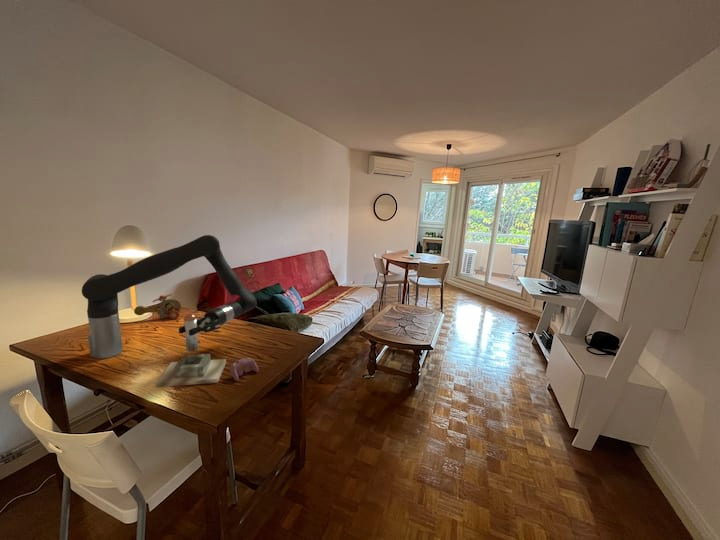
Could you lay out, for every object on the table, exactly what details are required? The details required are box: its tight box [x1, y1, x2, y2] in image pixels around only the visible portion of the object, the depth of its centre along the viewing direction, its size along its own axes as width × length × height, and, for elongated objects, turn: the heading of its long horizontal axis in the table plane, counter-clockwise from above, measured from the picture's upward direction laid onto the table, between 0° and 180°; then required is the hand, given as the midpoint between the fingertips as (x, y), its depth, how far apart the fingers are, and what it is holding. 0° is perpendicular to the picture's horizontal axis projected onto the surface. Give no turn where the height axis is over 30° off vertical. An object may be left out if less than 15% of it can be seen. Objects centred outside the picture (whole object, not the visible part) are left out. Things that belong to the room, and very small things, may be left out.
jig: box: [154, 353, 227, 388], centre depth 108 cm, size 20×14×6 cm
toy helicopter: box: [133, 293, 182, 320], centre depth 154 cm, size 8×21×14 cm, turn 122°
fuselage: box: [183, 313, 200, 352], centre depth 106 cm, size 4×4×14 cm
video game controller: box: [229, 357, 259, 382], centre depth 110 cm, size 10×5×7 cm, turn 141°
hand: (184, 332), depth 103 cm, fingers closed on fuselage, 4 cm apart
